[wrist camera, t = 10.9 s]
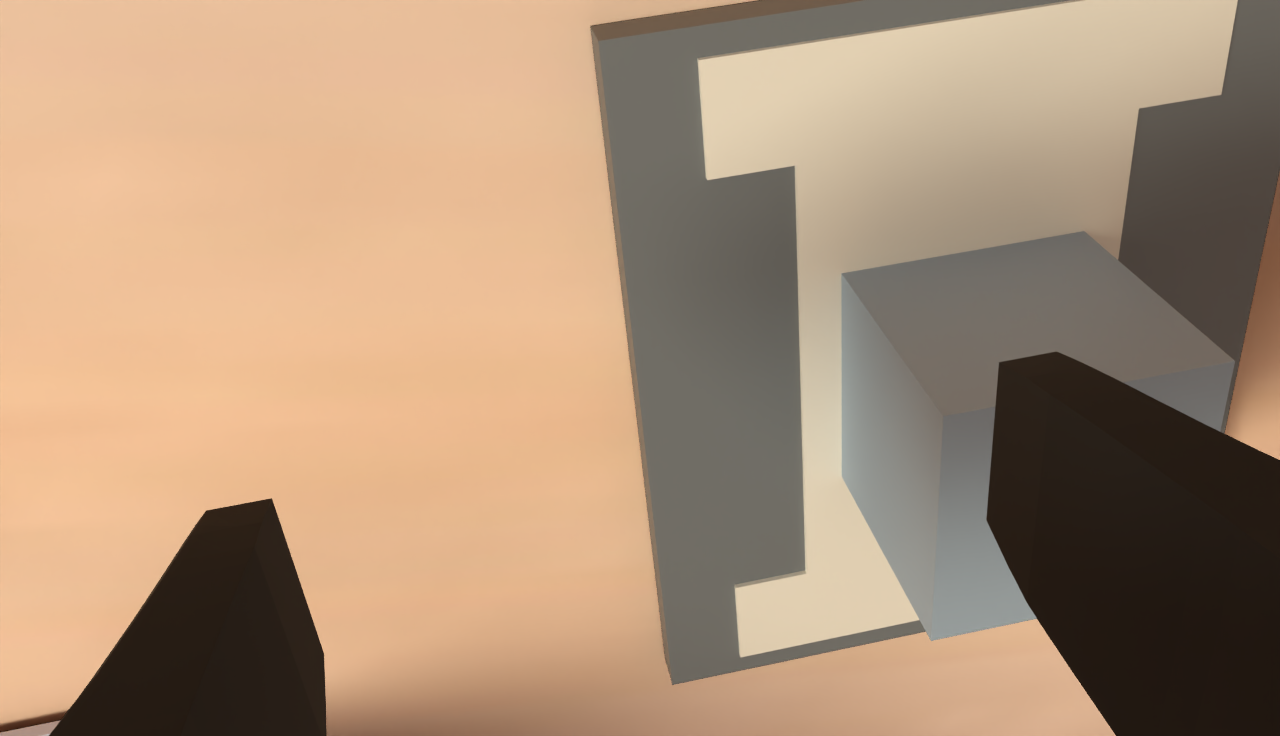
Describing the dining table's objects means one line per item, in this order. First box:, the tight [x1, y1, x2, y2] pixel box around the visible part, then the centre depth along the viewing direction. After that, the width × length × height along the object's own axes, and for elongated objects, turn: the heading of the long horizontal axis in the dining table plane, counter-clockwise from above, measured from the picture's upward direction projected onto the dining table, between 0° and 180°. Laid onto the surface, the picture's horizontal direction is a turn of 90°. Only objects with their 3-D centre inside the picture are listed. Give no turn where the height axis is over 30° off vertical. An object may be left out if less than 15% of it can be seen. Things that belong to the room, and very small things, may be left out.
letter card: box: [590, 0, 1280, 685], centre depth 23 cm, size 12×14×1 cm
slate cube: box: [841, 231, 1235, 641], centre depth 20 cm, size 4×4×4 cm
